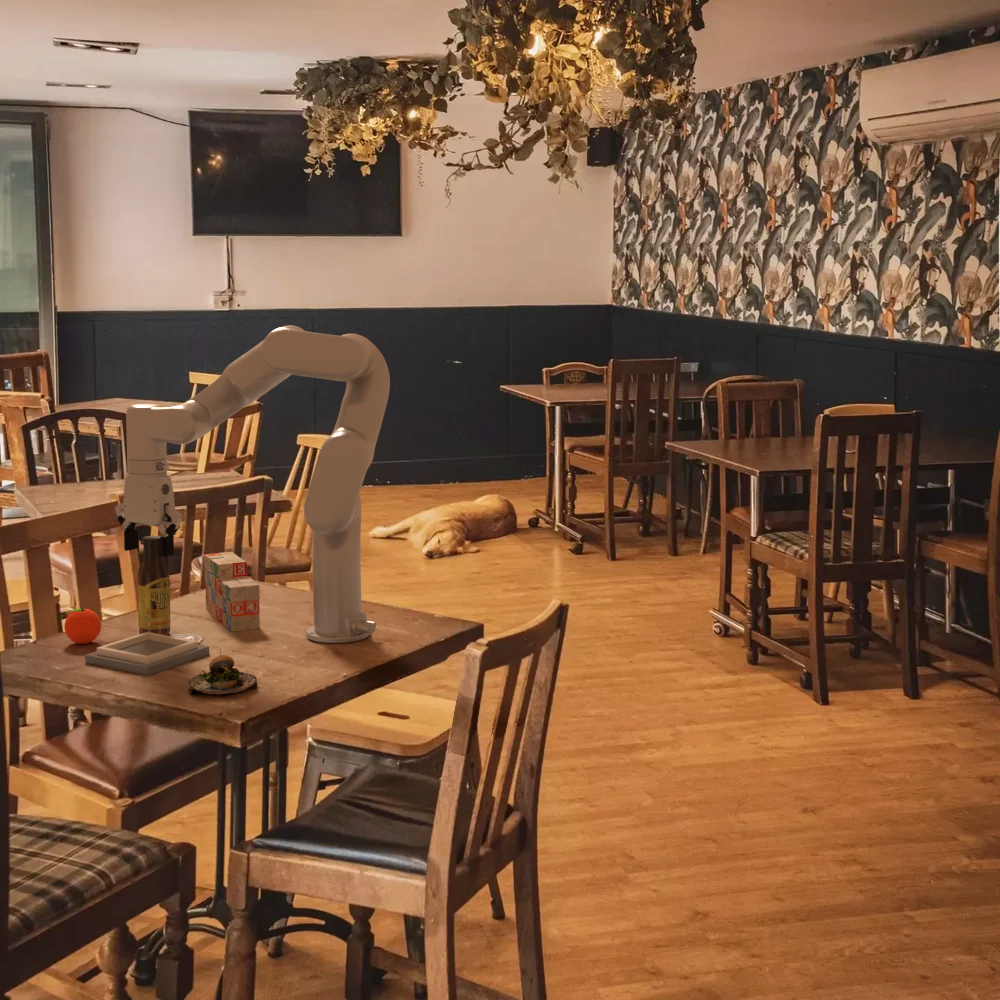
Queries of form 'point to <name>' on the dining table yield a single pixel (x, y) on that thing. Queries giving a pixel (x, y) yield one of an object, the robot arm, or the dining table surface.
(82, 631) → the clementine
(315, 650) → the dining table surface
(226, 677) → the burger
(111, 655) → the slate coaster board
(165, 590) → the sauce bottle
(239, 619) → the stack of blocks
